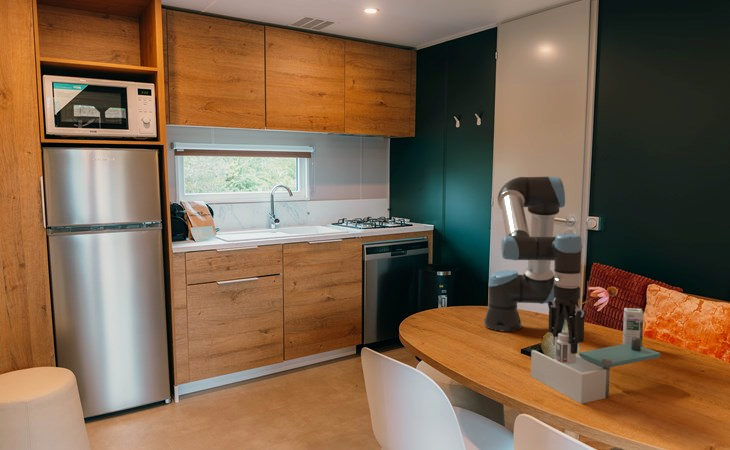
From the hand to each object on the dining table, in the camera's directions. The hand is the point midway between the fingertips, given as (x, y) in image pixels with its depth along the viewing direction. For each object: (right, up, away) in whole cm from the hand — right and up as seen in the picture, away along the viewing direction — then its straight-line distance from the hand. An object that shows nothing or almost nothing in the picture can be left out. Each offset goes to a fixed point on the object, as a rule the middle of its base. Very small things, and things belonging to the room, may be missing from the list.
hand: (564, 359), depth 159 cm
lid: (+16, +1, -1) cm, 16 cm away
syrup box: (+37, -4, +32) cm, 49 cm away
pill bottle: (0, -1, 0) cm, 1 cm away
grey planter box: (+1, -8, 0) cm, 8 cm away
